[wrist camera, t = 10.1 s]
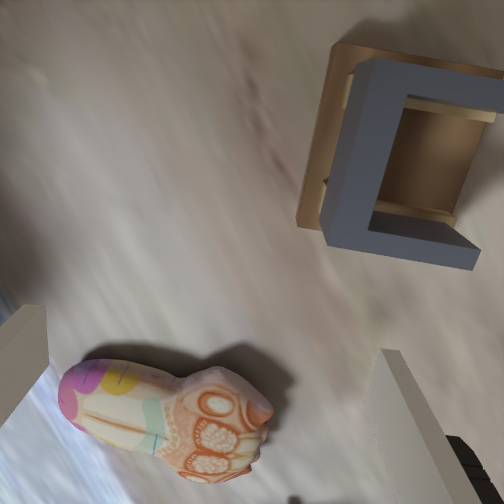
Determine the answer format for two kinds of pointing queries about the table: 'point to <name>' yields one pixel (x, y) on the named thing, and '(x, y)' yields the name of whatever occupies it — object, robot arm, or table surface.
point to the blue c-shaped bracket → (377, 154)
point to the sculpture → (170, 415)
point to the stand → (398, 143)
